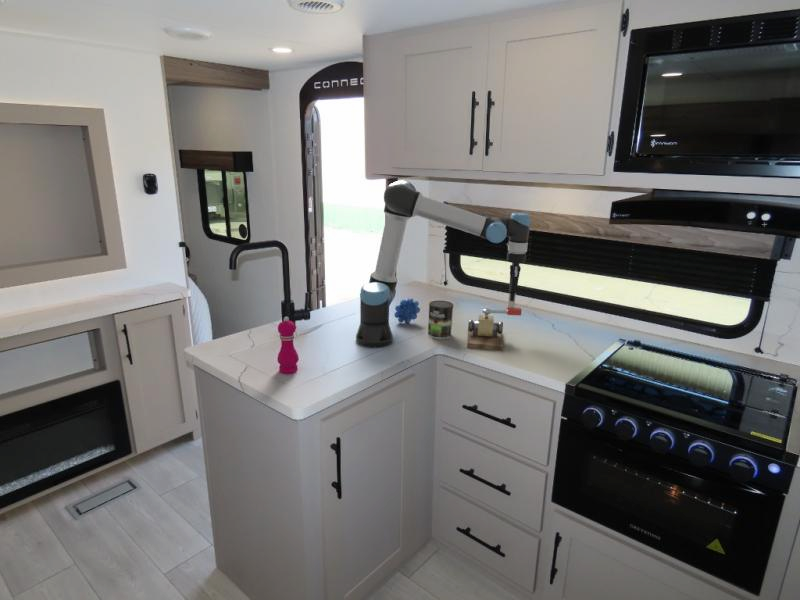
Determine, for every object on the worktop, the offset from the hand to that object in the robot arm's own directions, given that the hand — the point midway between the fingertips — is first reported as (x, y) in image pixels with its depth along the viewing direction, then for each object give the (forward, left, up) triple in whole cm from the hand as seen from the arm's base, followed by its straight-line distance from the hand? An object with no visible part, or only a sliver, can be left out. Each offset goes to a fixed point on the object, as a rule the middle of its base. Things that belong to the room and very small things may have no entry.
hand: (510, 307), depth 203 cm
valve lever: (-4, -3, -2) cm, 5 cm away
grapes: (-45, +11, -14) cm, 49 cm away
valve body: (-10, -4, -12) cm, 16 cm away
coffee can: (-29, -2, -14) cm, 32 cm away
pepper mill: (-79, -49, -14) cm, 94 cm away
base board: (-10, -4, -14) cm, 18 cm away
